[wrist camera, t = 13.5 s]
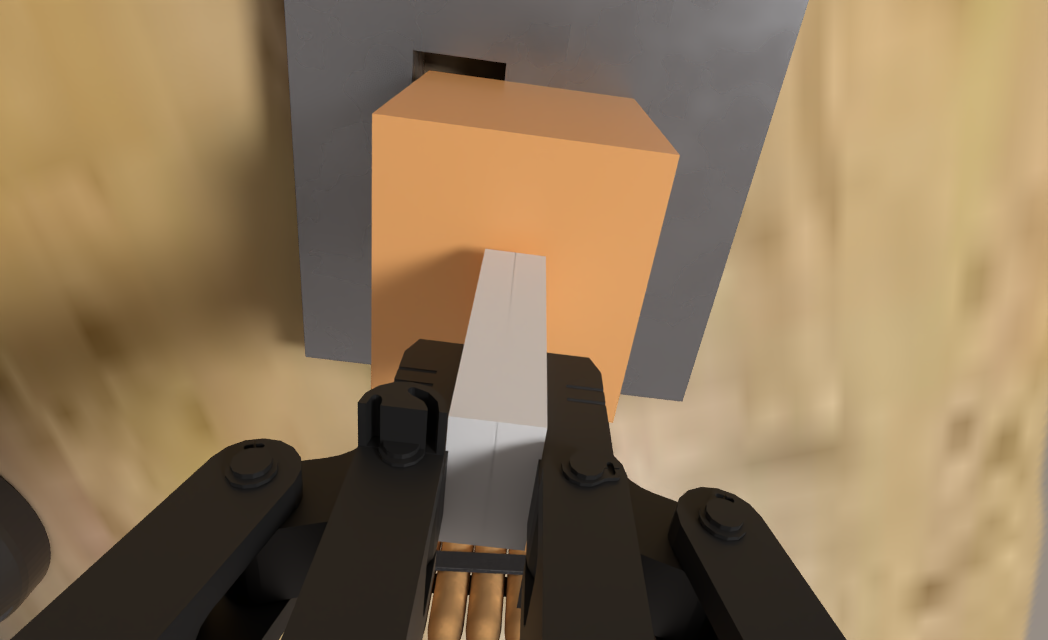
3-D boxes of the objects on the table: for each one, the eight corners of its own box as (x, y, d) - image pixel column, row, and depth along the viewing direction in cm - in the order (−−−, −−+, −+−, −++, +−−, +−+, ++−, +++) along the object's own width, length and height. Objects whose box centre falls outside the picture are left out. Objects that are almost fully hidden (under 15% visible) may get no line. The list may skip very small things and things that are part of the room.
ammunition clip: (387, 512, 35) (320, 740, 24) (385, 489, 34) (314, 715, 23) (572, 521, 35) (585, 754, 24) (575, 498, 34) (590, 729, 23)
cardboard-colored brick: (427, 259, 26) (371, 394, 18) (437, 63, 23) (372, 113, 14) (589, 279, 27) (612, 422, 18) (627, 89, 23) (680, 155, 14)
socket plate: (322, 329, 29) (305, 356, 27) (304, -98, 21) (277, -108, 18) (672, 371, 29) (682, 401, 27) (790, -26, 21) (817, -28, 19)
